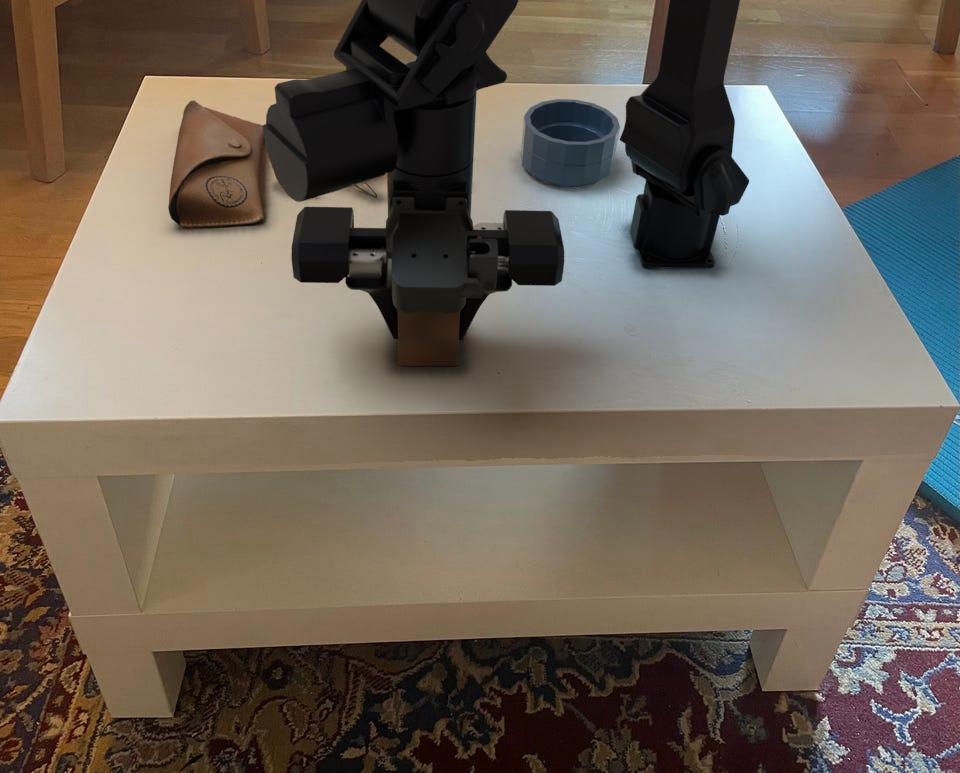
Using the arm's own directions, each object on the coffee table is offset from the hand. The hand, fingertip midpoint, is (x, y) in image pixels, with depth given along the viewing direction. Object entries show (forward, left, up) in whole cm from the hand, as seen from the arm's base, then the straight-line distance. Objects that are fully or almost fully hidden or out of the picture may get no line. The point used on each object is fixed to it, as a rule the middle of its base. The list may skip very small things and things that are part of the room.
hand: (427, 336), depth 72 cm
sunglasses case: (+20, -25, -1) cm, 32 cm away
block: (0, 0, -1) cm, 1 cm away
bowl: (-14, -28, -1) cm, 31 cm away
